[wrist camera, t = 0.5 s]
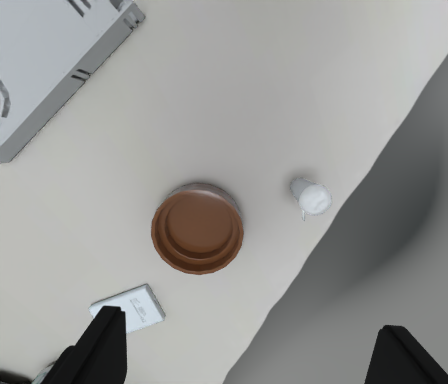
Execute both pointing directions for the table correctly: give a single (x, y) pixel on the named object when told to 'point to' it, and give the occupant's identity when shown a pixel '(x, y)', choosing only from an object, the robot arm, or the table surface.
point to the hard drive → (134, 308)
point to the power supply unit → (52, 57)
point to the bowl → (197, 229)
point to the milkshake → (311, 197)
